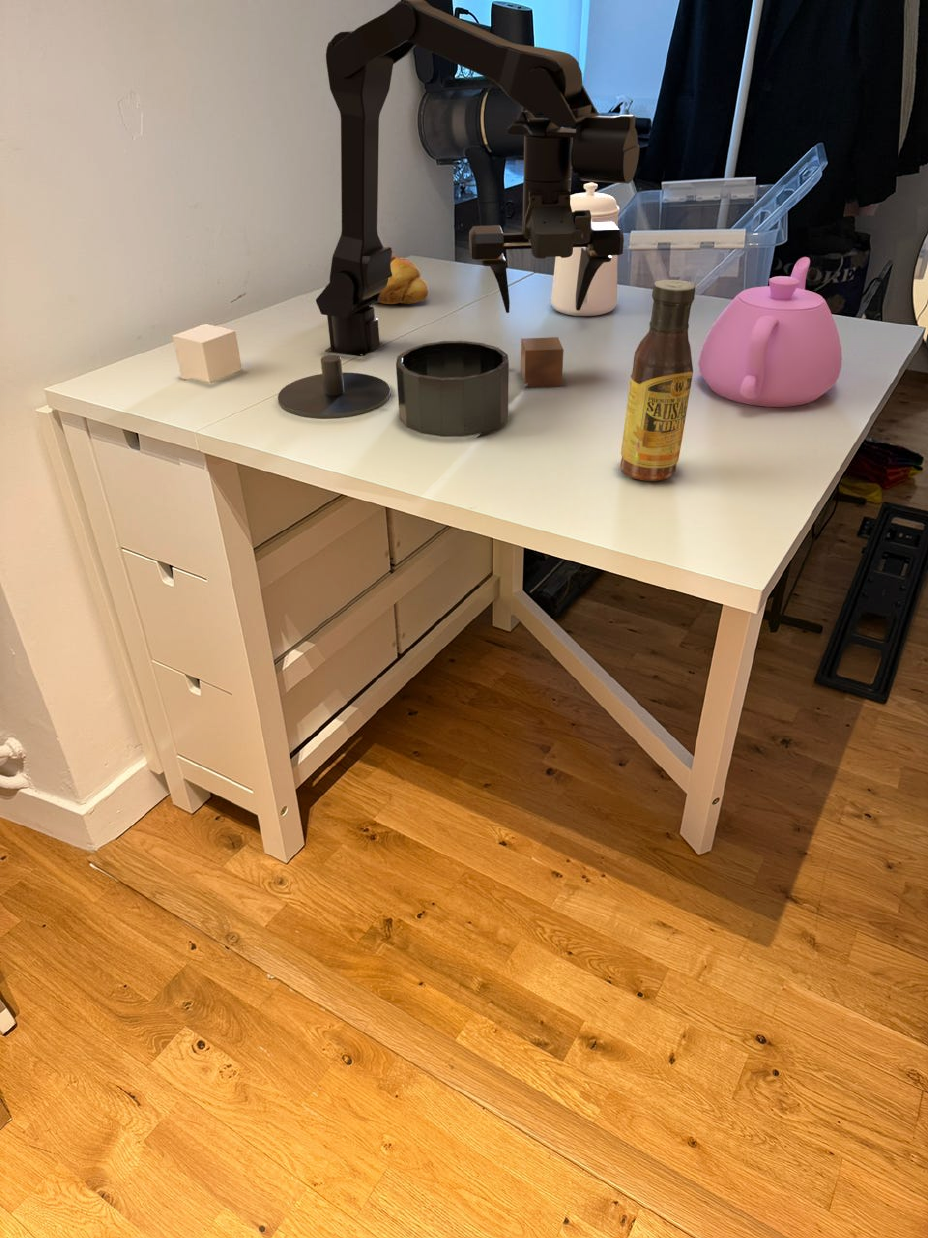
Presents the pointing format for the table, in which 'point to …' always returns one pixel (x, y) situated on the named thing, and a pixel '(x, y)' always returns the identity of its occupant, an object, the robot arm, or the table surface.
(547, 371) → the block
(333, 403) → the lid
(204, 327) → the beige cube
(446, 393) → the pot
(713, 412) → the table surface
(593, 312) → the coffeepot
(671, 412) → the sauce bottle
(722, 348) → the teapot
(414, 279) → the bread roll
